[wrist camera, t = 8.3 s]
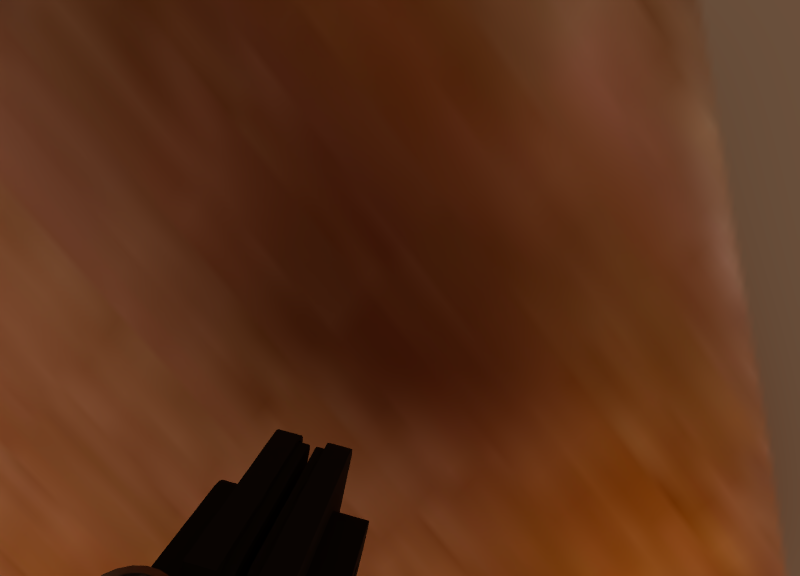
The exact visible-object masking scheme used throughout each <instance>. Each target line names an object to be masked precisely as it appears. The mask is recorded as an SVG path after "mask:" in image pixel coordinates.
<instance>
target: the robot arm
mask: <svg viewBox="0 0 800 576" xmlns="http://www.w3.org/2000/svg"><path fill="white" fill-rule="evenodd" d="M302 442H303V437H302V435H298V434H294V433H290V432H287V431H283V430H279V429H278V430H276V432H275V433H274V434H273V436H272V437H271V438H270V440H269V441H268V443H267V444H266V445H265V447H264V448H263V449H262V451H261V452H260V454H259V455H258V456H257V458H256V459H255V461H254V462H253V463H252V465H251V466H250V468H249V469H248V470H247V472H246V473H245V475H244V476H243V477H242V479H241V480H240V481H239V483H238V484H236V483H232V482H229V481H225V480H221V481H219V482H218V483H217V484H216V485H215V486H214V487H213V488H212V490H211V491H210V492H209V494H208V495H207V496H206V497H205V499H204V500H203V501H202V503H201V504H200V505H199V506H198V508H197V509H196V510H195V511H194V513H193V514H192V515H191V517H190V518H189V519H188V520H187V522H186V523H185V524H184V526H183V527H182V528H181V529H180V531H179V532H178V533H177V534H176V536H175V537H174V538H173V540H172V541H171V542H170V543H169V545H168V546H167V547H166V549H165V550H164V551H163V552H162V554H161V555H160V556H159V557H158V559H157V560H156V561H155V563H154V564H153V565H152V566H151V567H149V566H134V565H132V566H127V567H122V568H117V569H115V570H112V571H110V572H108V573H105V574H103V575H101V576H356V575H357V571H358V567H359V563H360V559H361V555H362V551H363V547H364V542H365V538H366V534H367V529H368V525H369V521H368V520H364V519H361V518H357V517H353V516H350V515H346V514H343V513H339V512H340V508H341V503H342V498H343V494H344V489H345V484H346V479H347V475H348V470H349V465H350V461H351V456H352V449H350V448H346V447H342V446H339V445H335V444H331V443H327V445H326V446H325V448H324V449H323V448H319V447H316V448H315V450H314V452H313V454H312V455H311V457H310V459H309V461H308V455H309V450H310V445H308V444H305V443H302ZM307 461H308V463H307Z"/></svg>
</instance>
